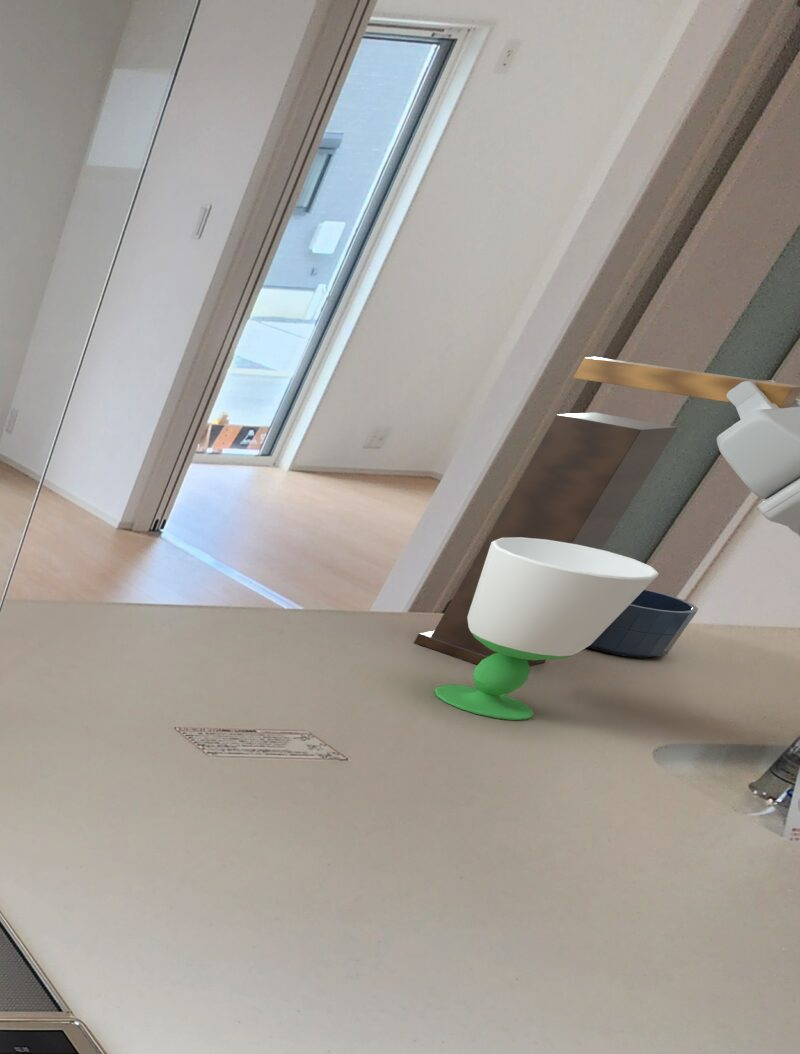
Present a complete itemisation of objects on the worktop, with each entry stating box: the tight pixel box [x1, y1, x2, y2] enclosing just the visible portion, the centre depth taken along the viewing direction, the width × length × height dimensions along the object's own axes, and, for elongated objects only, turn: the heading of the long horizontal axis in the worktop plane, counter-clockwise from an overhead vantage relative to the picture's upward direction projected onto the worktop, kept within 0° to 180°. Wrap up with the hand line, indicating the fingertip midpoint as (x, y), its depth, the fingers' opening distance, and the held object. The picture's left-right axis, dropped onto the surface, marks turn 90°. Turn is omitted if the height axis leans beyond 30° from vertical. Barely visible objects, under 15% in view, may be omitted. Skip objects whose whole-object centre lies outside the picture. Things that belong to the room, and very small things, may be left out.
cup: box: [434, 537, 659, 721], centre depth 115 cm, size 14×14×16 cm
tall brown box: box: [413, 411, 679, 667], centre depth 126 cm, size 10×10×26 cm
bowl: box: [587, 588, 699, 659], centre depth 138 cm, size 11×11×6 cm
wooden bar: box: [573, 356, 800, 408], centre depth 114 cm, size 18×2×2 cm, turn 26°
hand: (747, 386), depth 110 cm, fingers closed on wooden bar, 2 cm apart
